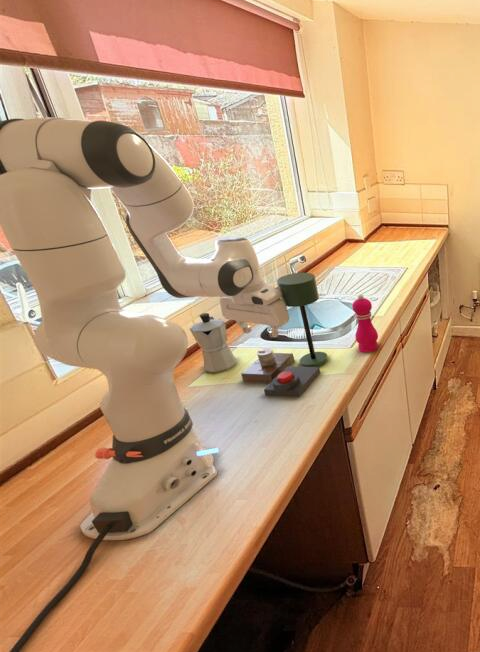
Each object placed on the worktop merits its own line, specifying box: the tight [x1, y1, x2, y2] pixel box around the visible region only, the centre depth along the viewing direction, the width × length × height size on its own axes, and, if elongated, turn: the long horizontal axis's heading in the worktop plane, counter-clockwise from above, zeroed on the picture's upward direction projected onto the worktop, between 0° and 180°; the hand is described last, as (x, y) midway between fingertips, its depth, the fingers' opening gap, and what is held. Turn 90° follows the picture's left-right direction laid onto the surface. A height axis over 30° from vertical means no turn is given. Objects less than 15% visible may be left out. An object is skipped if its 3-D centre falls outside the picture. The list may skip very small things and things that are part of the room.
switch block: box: [263, 365, 321, 398], centre depth 117 cm, size 12×10×4 cm
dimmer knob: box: [256, 348, 275, 366], centre depth 122 cm, size 4×4×4 cm
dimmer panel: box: [240, 352, 295, 384], centre depth 123 cm, size 12×9×3 cm
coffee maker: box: [189, 312, 237, 374], centre depth 124 cm, size 15×9×18 cm, turn 34°
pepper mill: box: [351, 294, 379, 354], centre depth 134 cm, size 7×7×20 cm
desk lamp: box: [276, 272, 329, 368], centre depth 123 cm, size 10×10×29 cm
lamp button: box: [278, 371, 293, 383], centre depth 113 cm, size 4×4×2 cm
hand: (261, 334), depth 119 cm, fingers open, 8 cm apart
